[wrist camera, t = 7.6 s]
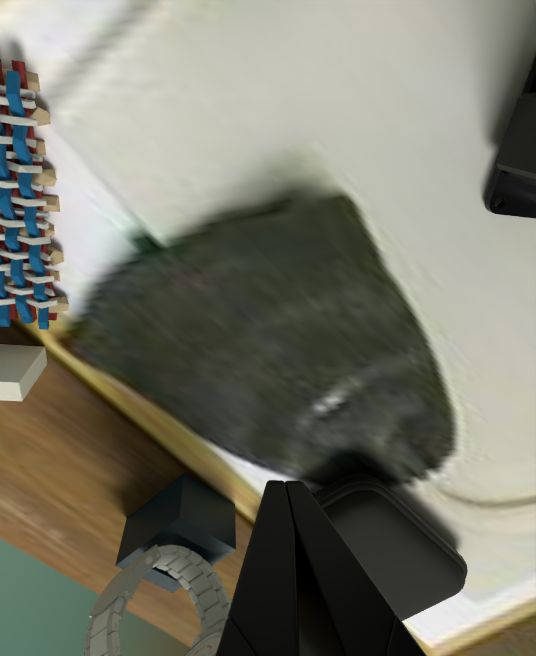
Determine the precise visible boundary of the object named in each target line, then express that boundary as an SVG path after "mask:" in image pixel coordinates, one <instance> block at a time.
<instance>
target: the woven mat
mask: <svg viewBox="0 0 536 656" xmlns="http://www.w3.org/2000/svg"><path fill="white" fill-rule="evenodd" d="M12 67H13V69H8V68H2V64H1V59H0V326H4V327H10V324H11V320H16V319H17V318H18V313H17V310H18V311H19V313H20V315H21V317H22V323H29V324H30V323H33V322H34V321H35V320H36V319H37V315H36V309H37V310H39V312H38V325H39V329H48V328H49V321H48V320H56V319H57V312H61V311H66V310H68V306H69V303H68V301H67V299H66V297H58V298H57V297H56V292H55V291H54V289H53V287H52V282H55V281H60V276H59V271H55V269H54V266H49V263H50V264H51V265H55V264H58V263H61V262H64V258H63V253H62V252H60V251H58V250H57V249H55V248H54V247H46V244H49V243H51V241H50V237H49V236H52V235H54V234H55V233H54V225H52V224H50V223H49V222H47V221H44V218H48V217H49V213H48V211H57V212H60V204H59V197H54V196H44V195H42V191H43V190H44V188H43V186H54V185H55V182H56V180H57V178H56V176H55V173H54V170H51V169H42V164H41V162H43V161H42V155H46V150H45V141H41V140H35V139H34V131H33V126H41V125H47V124H50V117H49V112H47V111H45V110H43V109H41V108H39V107H37V106H36V104H35V101H32V100H29V98H35V93H36V92H35V91H40V87H39V78H38V74H33V73H28V72H26V69H25V63H24V62H20V61H14V60H12ZM32 90H33V91H32ZM10 124H14V130H13V136H11V130H10ZM13 151H15V152H13ZM15 159H19V161H20V164H21V165H19V164H16V163H15ZM19 189H20V192H19ZM23 208H25V209H23ZM43 210H47V211H43ZM2 214H3V215H4V218H2ZM29 244H30V245H29ZM10 258H11V259H10ZM29 262H30V263H29ZM32 282H34V287H33V285H32Z"/></svg>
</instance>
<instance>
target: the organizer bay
mask: <svg viewBox="0 0 536 656" xmlns="http://www.w3.org/2000/svg"><path fill="white" fill-rule="evenodd" d="M46 365H47V357H46V350H45V347H41V346H24V345H7V344H0V400H7V401H23V399H24V398H25V396H26V395H27V393H28V392H29V390H30V389H31V387H32V386H33V385H34V383H35V382H36V380H37V379H38V377H39V376H40V374H41V373H42V371H43V370H44V368H45V367H46Z"/></svg>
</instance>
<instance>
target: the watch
mask: <svg viewBox="0 0 536 656" xmlns="http://www.w3.org/2000/svg"><path fill="white" fill-rule="evenodd" d="M235 550H236V531H235V505H234V504H233V503H231V502H230V501H228V500H227V499H225V498H223V497H222V496H220V495H219V494H217V493H215V492H214V491H212V490H211V489H209V488H208V487H206V486H204V485H203V484H201V483H200V482H198V481H196V480H195V479H193V478H192V477H190V476H188V475H187V474H185V473H184V474H183V475H181V476H180V477H179V478H178V479H176V480H175V481H174V482H172V483H171V484H170V485H169V486H167V487H166V488H165V489H164V490H162V491H161V492H160V493H159V494H157V495H156V496H155V497H154V498H152V499H151V500H150V501H148V502H147V503H146V504H145V505H143V506H142V507H141V508H140V509H138V510H137V511H136V512H135V513H133V514H132V515H131V516H130V517H128V518H127V519H126V524H125V528H124V532H123V536H122V540H121V544H120V549H119V553H118V557H117V561H116V565H115V566H117V567H119V568H122V569H123V570H122V571H121V572H120V573H119V574H118V575H117V576H116V577H115V578H114V579H113V580H112V581H111V582H110V583H109V584H108V586H107V587H106V588H105V590H104V591H103V593H102V594H101V596H100V597H99V599H98V600H97V602H96V604H95V605H94V607H93V609H92V611H91V613H90V615H89V617H92V618H91V621H90V623H89V626H88V632H87V634H86V639H85V646H84V649H85V650H86V651H85V652H84V656H117V655H119V654H120V651H121V650H120V644H119V635H118V633H117V632H115V631H117V630H118V626H119V621H121V620H122V616H123V613H124V610H125V607H126V604H127V602H128V601H129V600H130V599H132V597H133V595H134V593H135V591H136V589H137V587H138V585H139V583H140V582H141V580H142V579H145V580H147V581H149V582H151V583H153V584H155V585H157V586H159V587H161V588H164V589H166V590H168V591H170V592H172V593H173V592H175V591H176V590H178V589H179V588H181V587H182V586H183V587H184V588H185V589H186V590H187V589H188V594H189V596H190V598H191V600H192V602H193V603H194V604H196V603H197V602H199V601H200V602H199V603H197V604H196V606H195V608H196V611H197V614H198V617H199V620H200V621H201V623H200V625H201V630H202V635H201V634H199V635H197V637H196V638H195V639H194V642H193V644H192V647H191V649H190V650H189V651H188V652H187V653H186V654H185V655H184V656H215V654H216V651H217V648H218V645H219V642H220V639H221V636H222V632H223V629H224V626H225V622H226V620H227V617H228V613H229V609H230V606H231V604H229V603H230V602H231V601H230V598H229V595H228V593H227V591H226V589H225V587H222V586H223V583H222V581H221V579H220V578H219V576H218V575H217V573H216V572H215V571H214V569H213V568H212V567H211V566H213V565H214V564H216V563H217V562H219V561H220V560H222V559H223V558H225V557H226V556H227V555H229V554H230V553H232V552H233V551H235ZM213 571H214V572H213ZM212 572H213V573H212ZM211 586H212V587H211ZM190 587H191V588H190ZM209 587H210V588H209ZM220 587H222V588H220ZM208 588H209V589H208ZM219 588H220V589H219ZM206 589H207V590H206ZM205 590H206V591H205ZM203 591H204V592H203ZM202 592H203V593H202ZM200 593H201V594H200ZM219 602H220V603H219ZM218 603H219V604H218ZM216 604H217V605H216ZM227 604H228V605H227ZM214 605H216V606H214ZM213 606H214V607H213ZM211 607H213V608H211ZM210 608H211V609H210ZM208 609H210V610H208ZM207 610H208V611H207ZM202 620H203V621H202ZM119 656H120V655H119Z"/></svg>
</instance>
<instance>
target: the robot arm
mask: <svg viewBox="0 0 536 656" xmlns="http://www.w3.org/2000/svg"><path fill="white" fill-rule="evenodd" d="M496 164H497V167H496V170H495V173H494V176H493V179H492V181H491V184H490V187H489V190H488V193H487V196H486V198H485V203H484V204H485V208H486V209H487V210H488V211H490V212H492V213H495V214H501V215H510V216H519V217H528V218H536V57H535V59H534V62H533V65H532V68H531V71H530V74H529V76H528V79H527V82H526V85H525V88H524V91H523V94H522V96H521V97H520V98H519V99H518V101H517V104H516V107H515V109H514V112H513V115H512V118H511V121H510V124H509V127H508V129H507V132H506V135H505V138H504V141H503V144H502V147H501V149H500V152H499V155H498V158H497V161H496ZM499 197H501V202H500V203H499V204H498V205H497V206H495V201H496V200H497V199H498V198H499ZM394 615H395V611H394V610H393V608H392V607H391V606H390V604H389V603H388V601H387V600H386V599H385V597H384V596H383V594H382V593H381V591H380V590H379V589H378V587H377V586H376V584H375V583H374V582H373V580H372V579H371V577H370V576H369V574H368V573H367V572H366V570H365V569H364V567H363V566H362V565H361V563H360V562H359V560H358V559H357V558H356V556H355V555H354V553H353V552H352V550H351V549H350V548H349V546H348V545H347V543H346V542H345V541H344V539H343V538H342V536H341V535H340V533H339V532H338V531H337V529H336V528H335V526H334V525H333V524H332V522H331V521H330V519H329V518H328V516H327V515H326V514H325V512H324V511H323V509H322V508H321V507H320V505H319V504H318V502H317V501H316V500H315V498H314V497H313V495H312V494H311V492H310V491H309V490H308V488H307V487H306V485H305V484H304V483H303V482H301V481H286V482H285V483H284V481H276V480H269V481H268V482H267V483H266V487H265V490H264V493H263V497H262V500H261V504H260V507H259V511H258V514H257V517H256V521H255V524H254V528H253V531H252V534H251V538H250V541H249V545H248V548H247V551H246V555H245V558H244V562H243V565H242V568H241V572H240V575H239V579H238V582H237V585H236V589H235V592H234V596H233V599H232V603H231V606H230V609H229V613H228V617H227V620H226V622H225V626H224V629H223V632H222V636H221V639H220V642H219V645H218V648H217V651H216V654H215V656H427V655H426V654H425V653H424V651H423V650H422V649H421V647H420V646H419V644H418V643H417V642H416V640H415V639H414V638H413V636H412V635H411V634H410V632H409V631H408V630H407V628H406V627H405V625H404V624H403V622H402V621H401V620H400V618H399V617H398V616H397V615H395V616H394Z"/></svg>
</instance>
